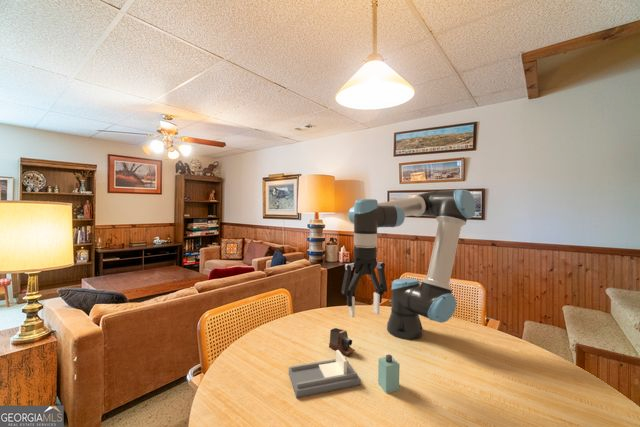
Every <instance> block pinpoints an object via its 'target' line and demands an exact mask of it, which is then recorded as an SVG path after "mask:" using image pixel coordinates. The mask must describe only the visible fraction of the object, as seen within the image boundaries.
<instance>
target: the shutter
mask: <svg viewBox="0 0 640 427" xmlns="http://www.w3.org/2000/svg"><path fill="white" fill-rule="evenodd" d="M335 359H336V362H333V363H327V364H321V365H319V368H320V370H321V372H322V374H323V376H324V378H326V377H332V376H337V375H342V374H347V361H348V360H347V358H346V359H345V355H344V354H343V353H341V352H340V351H339V350H335ZM346 360H347V361H346Z"/></svg>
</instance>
